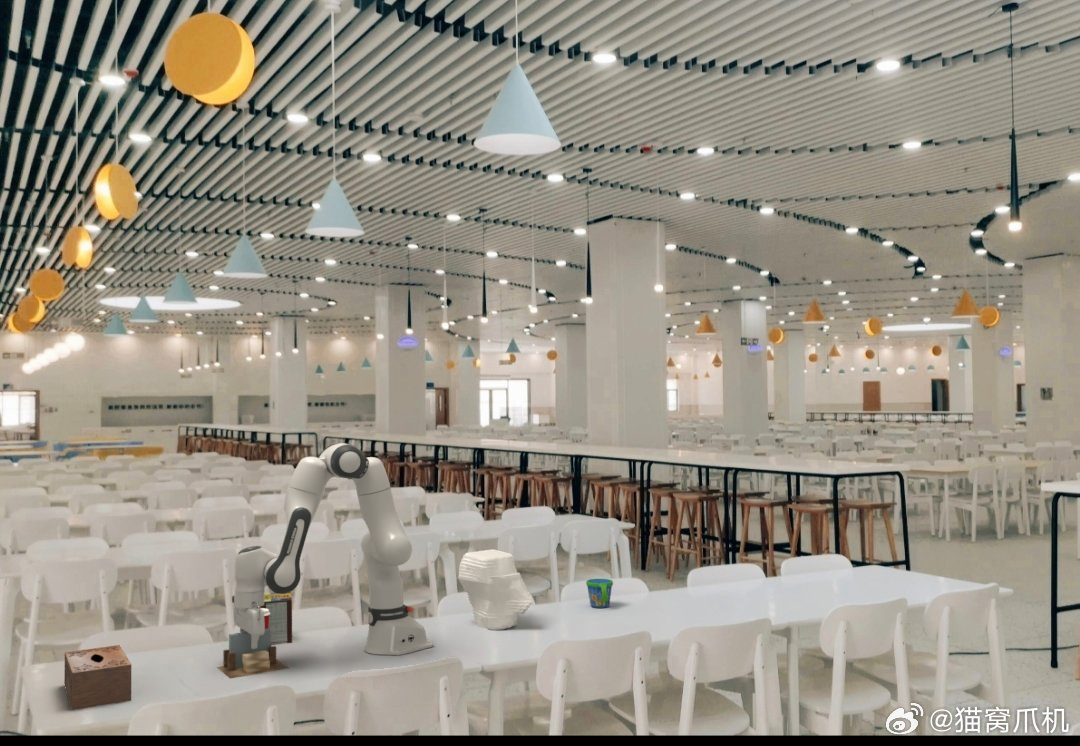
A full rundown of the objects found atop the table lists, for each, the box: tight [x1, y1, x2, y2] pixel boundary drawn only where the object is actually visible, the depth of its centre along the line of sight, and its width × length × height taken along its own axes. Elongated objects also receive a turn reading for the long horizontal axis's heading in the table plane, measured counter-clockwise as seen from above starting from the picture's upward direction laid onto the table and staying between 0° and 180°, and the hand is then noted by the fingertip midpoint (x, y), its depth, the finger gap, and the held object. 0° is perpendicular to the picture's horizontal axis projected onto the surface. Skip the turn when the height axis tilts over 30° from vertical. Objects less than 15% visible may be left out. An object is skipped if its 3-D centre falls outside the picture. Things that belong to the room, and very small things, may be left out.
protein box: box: [260, 591, 293, 646], centre depth 311 cm, size 10×15×16 cm
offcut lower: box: [244, 661, 270, 673], centre depth 272 cm, size 7×3×2 cm, turn 124°
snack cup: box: [585, 578, 614, 609], centre depth 358 cm, size 16×10×10 cm
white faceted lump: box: [457, 548, 533, 631], centre depth 328 cm, size 21×27×26 cm
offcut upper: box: [242, 651, 269, 665], centre depth 272 cm, size 7×3×2 cm, turn 129°
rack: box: [216, 643, 291, 679], centre depth 275 cm, size 18×15×6 cm
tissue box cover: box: [64, 644, 132, 711], centre depth 254 cm, size 26×14×10 cm, turn 32°
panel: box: [228, 629, 270, 668], centre depth 278 cm, size 12×2×10 cm, turn 124°
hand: (249, 645), depth 278 cm, fingers open, 8 cm apart
